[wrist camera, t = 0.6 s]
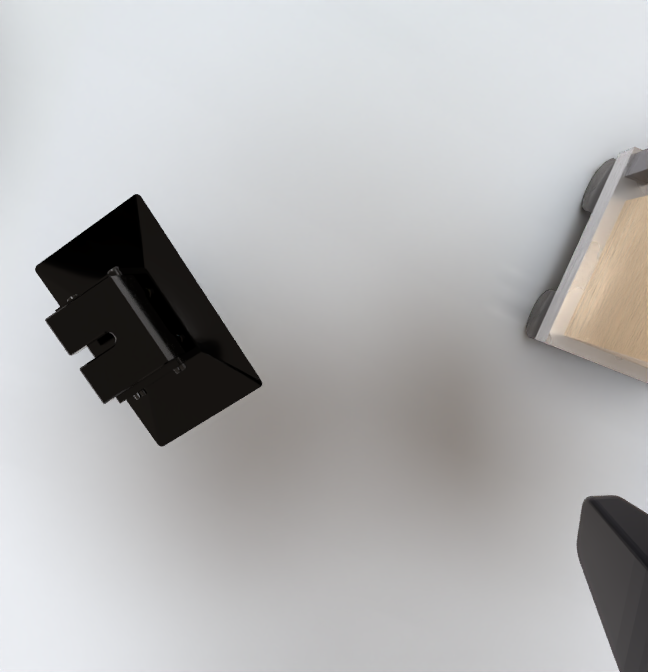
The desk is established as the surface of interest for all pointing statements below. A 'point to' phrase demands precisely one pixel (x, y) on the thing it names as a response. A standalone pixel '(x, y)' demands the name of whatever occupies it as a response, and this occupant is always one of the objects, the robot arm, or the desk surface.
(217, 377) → the build plate
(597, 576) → the robot arm
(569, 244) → the desk surface
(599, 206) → the trolley
